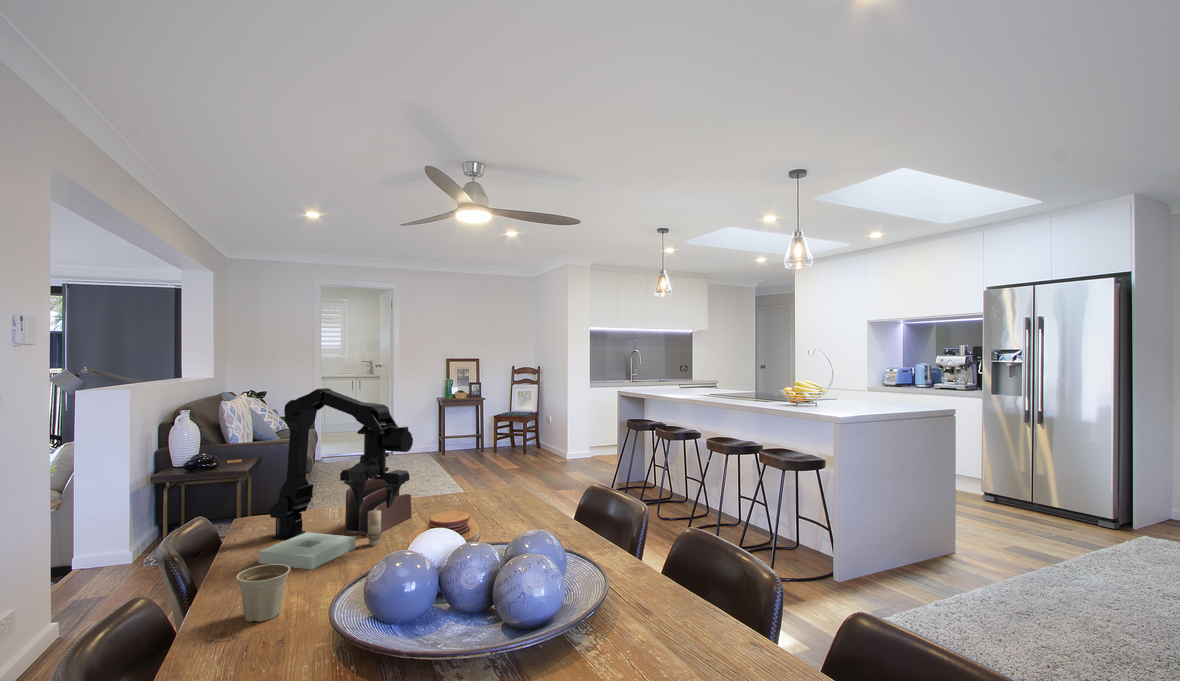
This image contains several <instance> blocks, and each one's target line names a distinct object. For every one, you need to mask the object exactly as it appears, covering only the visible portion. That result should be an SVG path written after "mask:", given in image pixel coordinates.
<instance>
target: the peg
mask: <svg viewBox="0 0 1180 681" xmlns="http://www.w3.org/2000/svg"><path fill="white" fill-rule="evenodd" d="M381 537H382V532H381V511H380V510H372V511H369V512H368V536H367V539H368V546H370V547H377V546H379V545H380V538H381ZM378 544H379V545H378ZM376 545H377V546H376Z"/></svg>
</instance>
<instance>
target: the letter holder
mask: <svg viewBox="0 0 1180 681" xmlns="http://www.w3.org/2000/svg"><path fill="white" fill-rule="evenodd" d="M386 484H387V483H386V482H385V480H381V479H368V480H367V481H366V482H365V489H364V497H363V502H362V505H361V506H358V504H357V501H356V498H355V495H354V493H353V491H352V489H351V487H349V488H347V491H346V493H345V516H344V517H345V520H344V522H345V525H344V534H345V533H348V534H347V535H354V534H359V535H358V536H365V535H368V512H369V511H372V510H380V511H381V533H383V532H385V531H387V530H389V529H391V528H393V527H395V526H397V525H400V524H401V523H404V522H405V520H406V521H407V519H408V520H409V518H410V519H412V516H413V514H412V495H411V494H410V493H404V494H401V495H400V489H399V490H398V492H397V494H396V496H395V498H394V501H393V503H392V505H391V507H390V508H387V504H386V497H387V490H386V488H385V487H384V485H386ZM403 521H404V522H403Z"/></svg>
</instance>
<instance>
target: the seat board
mask: <svg viewBox="0 0 1180 681" xmlns="http://www.w3.org/2000/svg"><path fill="white" fill-rule="evenodd" d="M355 549H356V536H347V535H337V534H328V533H318V532H317V533H316V532H309V531H307V532H306V531H305V533H304V534H301V535H299V536H296V537H293V538H291V539H285V540H283V541H281V542H279V543H276V544H274V545H271V546H269V547H266V548H263V549H261V550H258V564H261V565H269V564H283V565H287V566H289V567H290V568H294V569H295V568H296V569H303V570H304V569H305V570H314V569H315V568H318V567H320V566H321V565H324V564H326V563H328V562H330V561H332V560H334V559H336V558H338V557H340V556H342V555H345V554H347V553H349V552H350V550H351V551H353V550H355ZM348 551H349V552H348ZM346 552H347V553H346Z"/></svg>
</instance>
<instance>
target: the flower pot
mask: <svg viewBox="0 0 1180 681" xmlns="http://www.w3.org/2000/svg"><path fill="white" fill-rule="evenodd" d="M290 572H291V567H289V566H287V565H283V564H261V565H256V566H253V567H249V568H247V569H244V570H242V571H240V572H239V573H237V575H236V578H235V579H236V581H238V586H239V587H240V591H241V592H240V593H241V600H242V606H243V615H244V620H245V621H246V622H249V623H252V622H253V621H254V622H258V623H259V622H260V623H261V622H266V621H269V620H272V619H274V618H276V617H277V616H278V615H280V613H281V611H282V603H283V598H284V593H285V592H284V591H285V587H286V581H287V579H288V575H289V573H290Z"/></svg>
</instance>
